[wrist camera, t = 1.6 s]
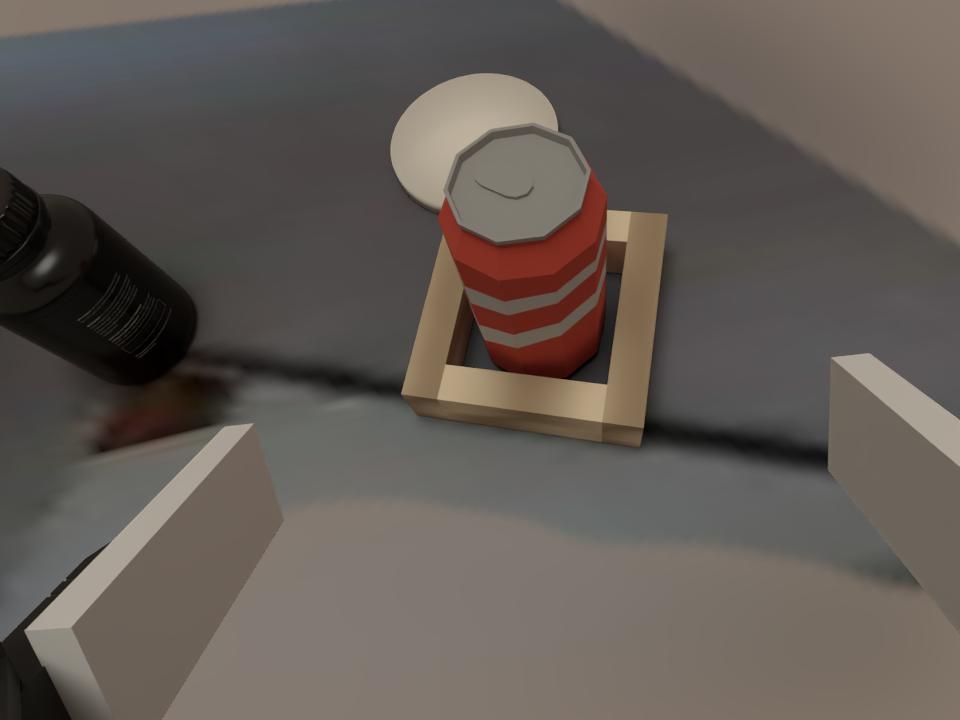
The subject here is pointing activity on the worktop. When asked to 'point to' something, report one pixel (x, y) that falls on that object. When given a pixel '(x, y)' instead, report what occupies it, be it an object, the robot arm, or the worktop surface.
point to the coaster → (458, 128)
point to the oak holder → (534, 399)
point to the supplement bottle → (85, 288)
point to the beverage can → (529, 247)
